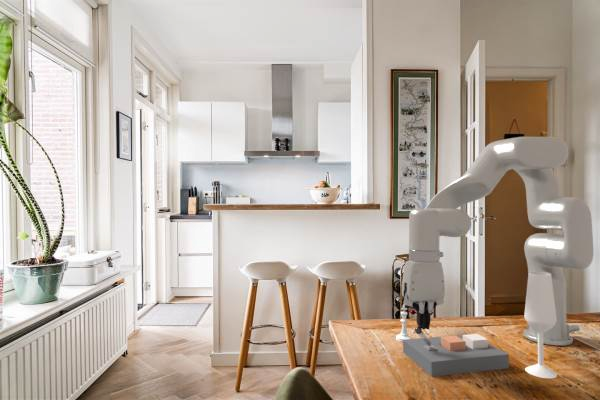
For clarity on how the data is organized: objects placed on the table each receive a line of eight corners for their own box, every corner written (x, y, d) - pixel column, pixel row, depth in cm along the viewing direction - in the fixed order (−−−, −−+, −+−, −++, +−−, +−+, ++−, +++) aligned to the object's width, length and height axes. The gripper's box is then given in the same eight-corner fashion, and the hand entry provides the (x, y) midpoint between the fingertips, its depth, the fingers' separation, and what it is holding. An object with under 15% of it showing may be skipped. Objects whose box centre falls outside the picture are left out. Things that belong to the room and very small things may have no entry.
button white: (477, 342, 106) (477, 333, 106) (488, 348, 101) (487, 339, 101) (462, 344, 105) (462, 334, 105) (473, 350, 100) (472, 340, 100)
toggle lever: (431, 342, 102) (417, 324, 101) (434, 344, 100) (420, 326, 99) (426, 346, 101) (412, 328, 101) (429, 349, 100) (415, 331, 99)
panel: (471, 346, 111) (471, 332, 111) (508, 368, 96) (508, 352, 96) (403, 352, 107) (403, 338, 107) (431, 376, 92) (431, 360, 92)
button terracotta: (455, 344, 104) (455, 335, 104) (465, 351, 100) (465, 341, 100) (440, 346, 104) (440, 336, 104) (450, 352, 99) (450, 342, 99)
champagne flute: (524, 364, 99) (523, 270, 99) (556, 369, 95) (555, 272, 95) (524, 374, 93) (523, 274, 93) (558, 380, 90) (557, 277, 90)
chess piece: (413, 342, 115) (413, 308, 115) (396, 341, 116) (395, 308, 116) (412, 336, 119) (411, 304, 119) (395, 335, 120) (395, 303, 120)
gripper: (442, 254, 105) (441, 321, 105) (390, 255, 103) (390, 324, 102) (458, 258, 98) (458, 330, 98) (403, 259, 95) (403, 333, 95)
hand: (423, 327), depth 100 cm, fingers closed
